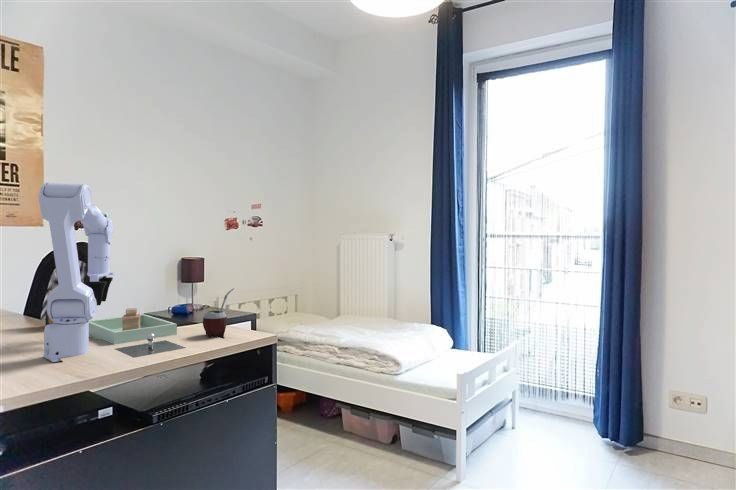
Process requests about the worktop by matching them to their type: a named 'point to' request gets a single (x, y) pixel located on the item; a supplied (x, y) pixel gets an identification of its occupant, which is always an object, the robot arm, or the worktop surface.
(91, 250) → the robot arm
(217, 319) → the mate gourd
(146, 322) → the bin
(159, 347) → the base
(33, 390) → the worktop surface
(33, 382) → the worktop surface
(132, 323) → the square capped bottle
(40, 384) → the worktop surface
